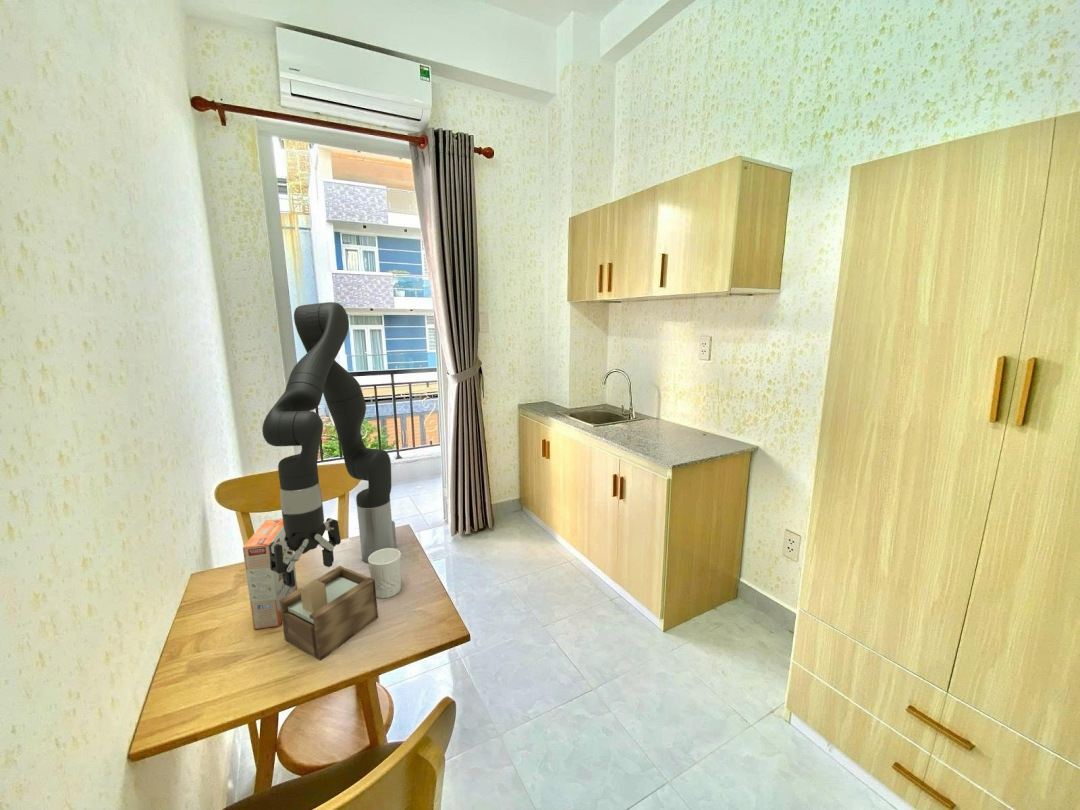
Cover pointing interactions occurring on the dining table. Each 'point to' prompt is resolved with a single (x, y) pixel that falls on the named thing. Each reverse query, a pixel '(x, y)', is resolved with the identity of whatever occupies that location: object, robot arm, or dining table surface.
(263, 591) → the cracker box
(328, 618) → the walnut box
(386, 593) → the white cup
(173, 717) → the dining table surface
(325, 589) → the lid
